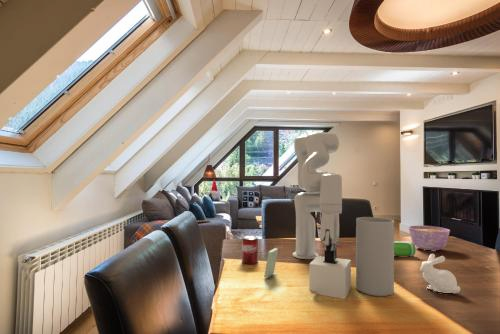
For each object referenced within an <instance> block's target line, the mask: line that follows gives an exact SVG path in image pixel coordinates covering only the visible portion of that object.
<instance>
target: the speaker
mask: <svg viewBox="0 0 500 334" xmlns="http://www.w3.org/2000/svg"><path fill="white" fill-rule="evenodd" d="M416 253H417V252H416V246H415V245H414V244H413V242H410V241H406V240H404V241H403V240H402V241H400V240H398V241H397V240H394V255H395V256H410V257H414V256H415V255H416Z"/></svg>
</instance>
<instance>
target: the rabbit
mask: <svg viewBox="0 0 500 334" xmlns="http://www.w3.org/2000/svg"><path fill="white" fill-rule="evenodd" d="M435 257H436V255H435V254H434V253H430V254H429V256H428V259H427V260H426V261H425V260H424V261H422V262H421V266H420V268H419V270H420V272H422V277H423V280H424V281H425V282H427V283H428V284H429V285H427V286H426V289H427V288H428V289H433V290H434V291H438V292H443V293H453V294H452V295H454V294H458V293H459V292H460V291H461V287H460V286H459V285H458V282H457V277H456V276H455V275H454V273H452V272H451V271H449V270H447V269H438V268H435V267H434V265H436V264H441V263H443V262H445V261H446V257H445V256H444V255H441V256H438V257H436V258H435ZM428 286H429V287H428ZM434 291H433V292H434Z"/></svg>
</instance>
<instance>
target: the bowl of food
mask: <svg viewBox="0 0 500 334" xmlns="http://www.w3.org/2000/svg"><path fill="white" fill-rule="evenodd" d="M408 231H409V234H410V235H409V236H410V238H411V241H412V243H413V244H414V245H415V247H417V248H419V249H420V248H421V249H425V250H437V251H439V250H442V249H443V248H445V247H446V246H447V243H448V239H449V236H450V232H451V229H449V228H445V227H440V226H432V225H410V226H408ZM421 249H420V250H421ZM425 250H424V251H425Z"/></svg>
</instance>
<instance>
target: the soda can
mask: <svg viewBox="0 0 500 334" xmlns="http://www.w3.org/2000/svg"><path fill="white" fill-rule="evenodd" d="M241 263H242V264H243V265H247V266H251V265H257V264H259V238H258V237H256V236H251V235H250V236H248V235H247V236H244V237H242V238H241Z"/></svg>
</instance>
